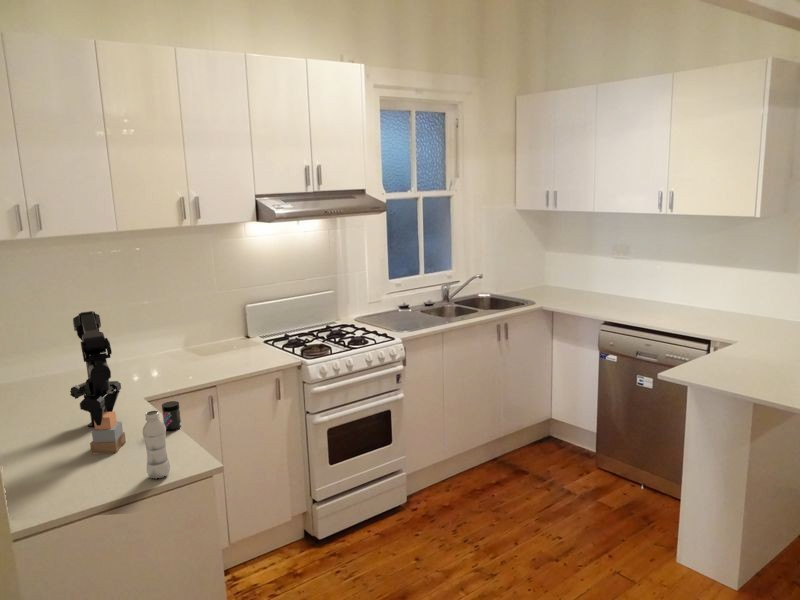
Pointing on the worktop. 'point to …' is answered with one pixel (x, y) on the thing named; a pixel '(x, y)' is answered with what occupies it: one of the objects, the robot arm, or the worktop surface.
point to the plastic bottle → (155, 446)
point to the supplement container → (171, 415)
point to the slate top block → (107, 434)
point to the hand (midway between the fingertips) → (104, 419)
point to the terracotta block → (107, 421)
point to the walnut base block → (108, 445)
